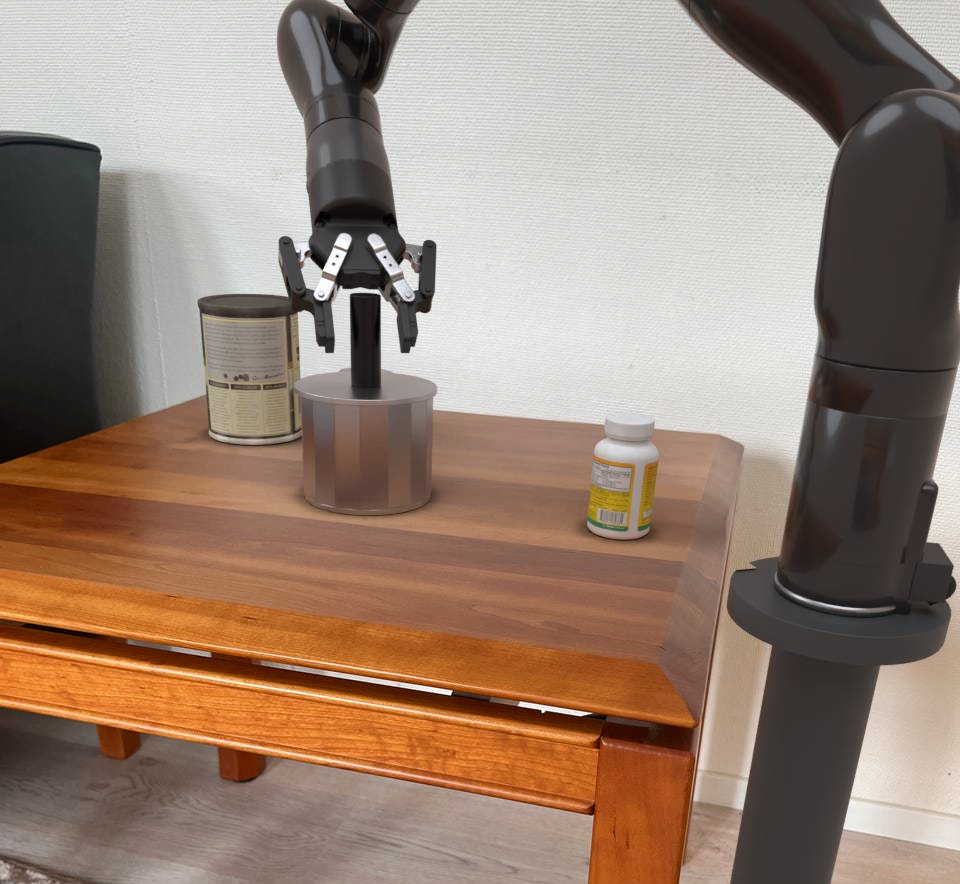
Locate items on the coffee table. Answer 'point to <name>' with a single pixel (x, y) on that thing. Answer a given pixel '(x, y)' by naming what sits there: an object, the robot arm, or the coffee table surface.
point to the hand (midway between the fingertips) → (369, 347)
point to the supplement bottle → (623, 478)
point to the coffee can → (251, 368)
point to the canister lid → (365, 367)
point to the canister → (367, 456)
